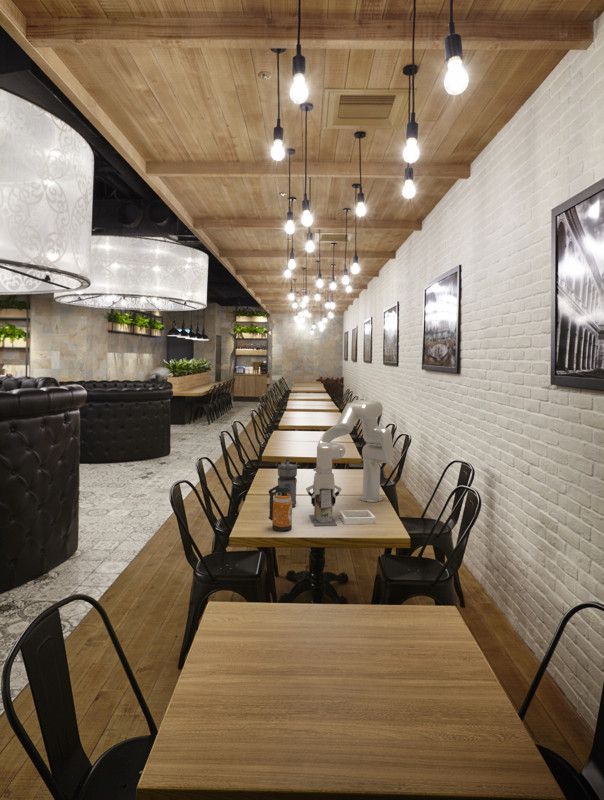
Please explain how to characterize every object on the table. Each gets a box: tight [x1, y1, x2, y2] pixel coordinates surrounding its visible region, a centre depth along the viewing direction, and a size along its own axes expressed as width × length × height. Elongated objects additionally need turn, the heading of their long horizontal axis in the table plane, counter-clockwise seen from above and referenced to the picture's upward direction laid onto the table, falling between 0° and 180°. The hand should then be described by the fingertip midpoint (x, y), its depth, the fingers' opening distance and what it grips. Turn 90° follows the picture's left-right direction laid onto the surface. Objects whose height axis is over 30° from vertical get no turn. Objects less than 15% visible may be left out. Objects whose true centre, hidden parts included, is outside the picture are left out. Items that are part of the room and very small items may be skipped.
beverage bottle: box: [277, 458, 298, 508], centre depth 270 cm, size 10×13×25 cm
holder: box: [338, 509, 377, 525], centre depth 249 cm, size 12×15×3 cm
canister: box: [268, 484, 293, 532], centre depth 233 cm, size 9×11×20 cm
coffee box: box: [313, 489, 334, 523], centre depth 246 cm, size 9×6×16 cm
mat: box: [308, 514, 338, 527], centre depth 247 cm, size 16×11×1 cm
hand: (323, 505), depth 246 cm, fingers open, 9 cm apart
